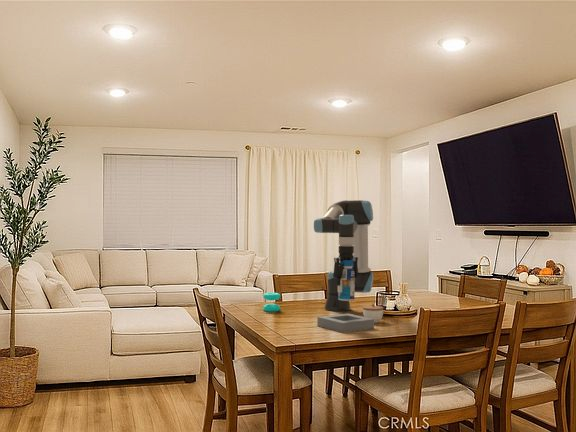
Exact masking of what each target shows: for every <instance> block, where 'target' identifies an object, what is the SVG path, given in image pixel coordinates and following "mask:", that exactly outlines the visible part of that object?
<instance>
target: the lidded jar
mask: <svg viewBox="0 0 576 432" xmlns="http://www.w3.org/2000/svg"><path fill="white" fill-rule="evenodd" d="M362 313H363V317H366V318H371V319H374V324H375V323H376V324H377V322H378V323H380V321H381V320H382V318H383V317H384V316H383V315H384V307H383V306H381V305H375V304H374V303H372V304H371V305H364V306H362Z"/></svg>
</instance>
